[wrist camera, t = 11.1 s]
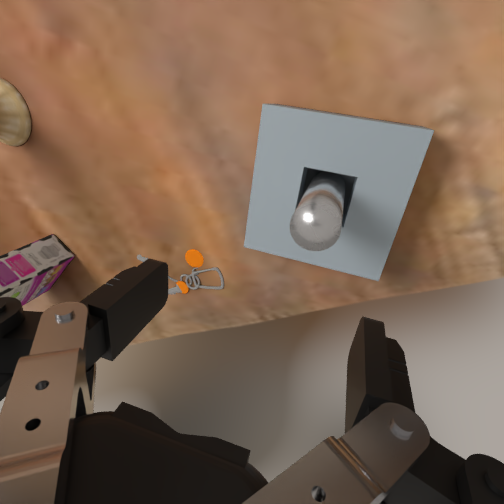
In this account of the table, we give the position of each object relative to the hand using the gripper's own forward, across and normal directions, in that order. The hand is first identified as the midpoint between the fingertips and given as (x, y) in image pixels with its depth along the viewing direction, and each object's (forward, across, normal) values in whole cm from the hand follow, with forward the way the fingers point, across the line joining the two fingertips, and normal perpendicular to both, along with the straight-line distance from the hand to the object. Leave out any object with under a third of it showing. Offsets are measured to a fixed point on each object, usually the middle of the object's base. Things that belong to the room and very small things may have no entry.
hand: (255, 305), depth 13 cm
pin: (+23, -1, +1) cm, 23 cm away
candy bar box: (+24, +39, +21) cm, 51 cm away
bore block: (+24, -1, +1) cm, 24 cm away
